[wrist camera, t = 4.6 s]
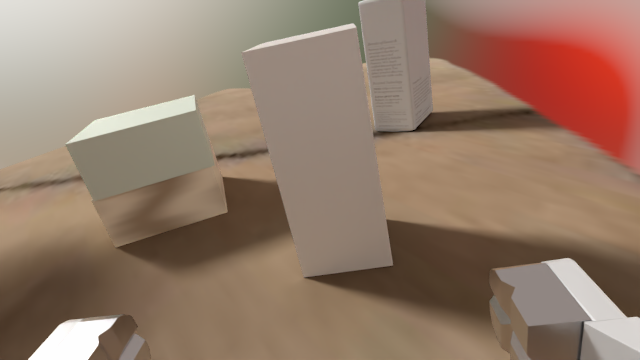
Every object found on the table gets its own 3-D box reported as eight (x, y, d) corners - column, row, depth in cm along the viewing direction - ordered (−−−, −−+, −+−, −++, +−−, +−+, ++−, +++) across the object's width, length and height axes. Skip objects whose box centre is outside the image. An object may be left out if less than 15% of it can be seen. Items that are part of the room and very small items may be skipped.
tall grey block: (393, 265, 18) (356, 27, 14) (303, 277, 19) (241, 52, 14) (383, 218, 22) (353, 23, 18) (310, 229, 23) (263, 43, 19)
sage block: (94, 201, 24) (65, 144, 23) (115, 165, 32) (94, 120, 30) (214, 165, 26) (195, 110, 25) (209, 139, 33) (194, 94, 32)
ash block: (116, 250, 26) (91, 200, 25) (135, 205, 33) (116, 164, 32) (228, 215, 28) (211, 166, 26) (223, 179, 35) (209, 139, 33)
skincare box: (396, 114, 42) (381, -4, 37) (436, 112, 39) (425, -15, 35) (373, 133, 37) (353, 1, 33) (417, 132, 35) (402, -10, 30)
